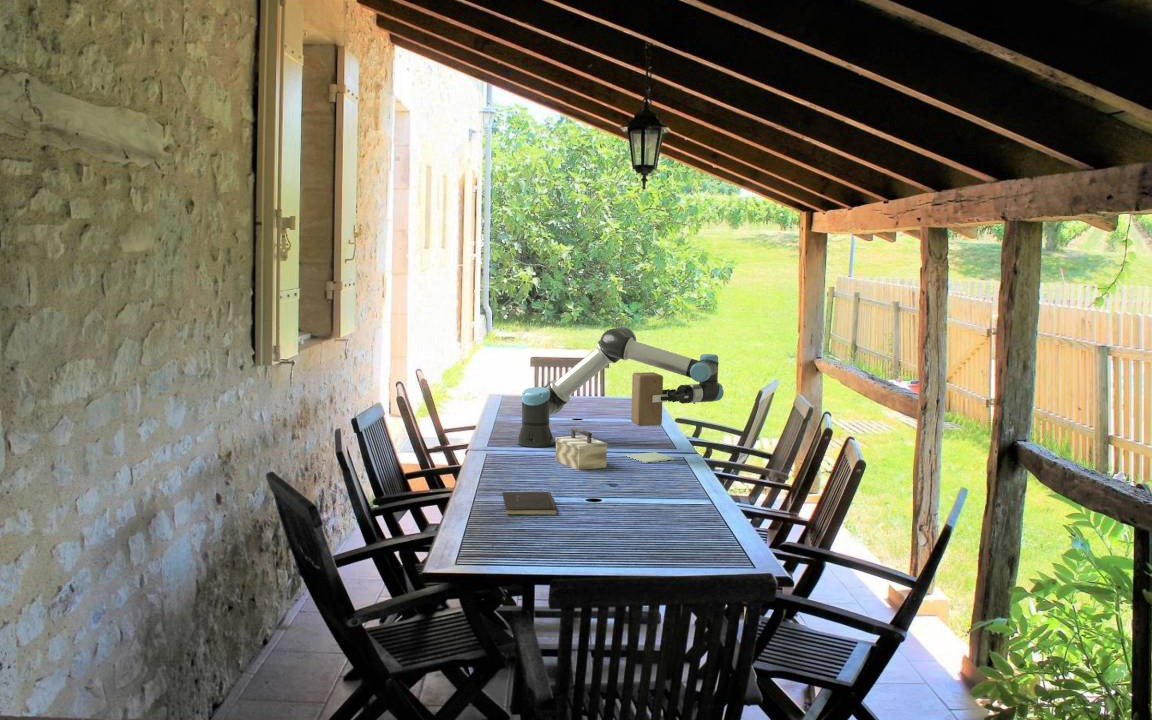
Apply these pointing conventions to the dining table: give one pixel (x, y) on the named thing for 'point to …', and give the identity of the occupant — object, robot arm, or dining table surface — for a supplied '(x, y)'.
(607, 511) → the dining table surface
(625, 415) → the dining table surface
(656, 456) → the mat
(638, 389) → the wooden block
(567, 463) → the toolbox
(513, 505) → the hardcover book
